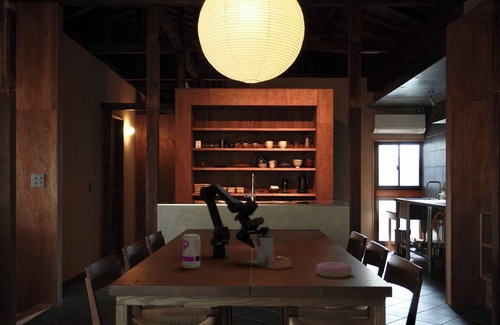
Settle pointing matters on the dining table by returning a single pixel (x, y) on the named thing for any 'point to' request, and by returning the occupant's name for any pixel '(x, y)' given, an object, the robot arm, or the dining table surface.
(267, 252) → the lock block
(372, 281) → the dining table surface
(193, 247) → the supplement can
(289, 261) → the block
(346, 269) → the donut
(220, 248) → the robot arm
